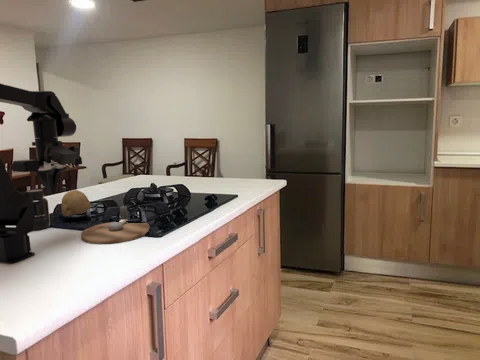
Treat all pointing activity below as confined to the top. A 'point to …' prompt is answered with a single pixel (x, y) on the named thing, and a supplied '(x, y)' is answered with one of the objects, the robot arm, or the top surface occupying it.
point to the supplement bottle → (40, 209)
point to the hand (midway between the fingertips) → (52, 193)
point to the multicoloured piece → (123, 219)
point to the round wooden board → (114, 233)
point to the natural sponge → (74, 203)
